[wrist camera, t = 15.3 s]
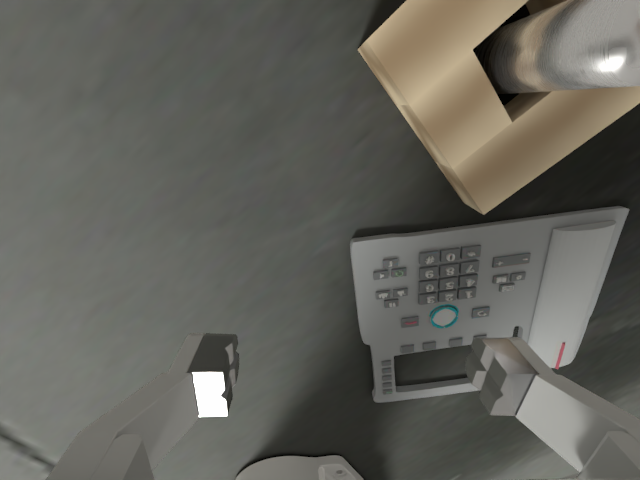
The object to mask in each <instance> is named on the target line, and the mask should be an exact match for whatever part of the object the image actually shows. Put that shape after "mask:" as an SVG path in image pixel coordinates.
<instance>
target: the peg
mask: <svg viewBox="0 0 640 480" xmlns="http://www.w3.org/2000/svg"><path fill="white" fill-rule="evenodd" d="M475 55H476V57H477V59H478V61H479V62H480V64H481V66H482V68H483V70H484V72H485V73H486V75H487V77H488V79H489V81H490V83H491V84H492V86H493V88H494V90H495V92H496V94H512V93H530V92H547V91H564V90H581V89H598V88H615V87H632V86H640V0H567V1H564V2H562V3H559V4H557V5H554V6H552V7H549V8H547V9H544V10H542V11H539V12H537V13H534V14H532V15H530V16H527V17H525V18H522V19H520V20H517V21H515V22H512V23H510V24H507V25H505V26H502V27H500V28H497V29H496V30H494V31H493V32H492V33H491V34H490V35H489V36H488V37H486V38H485V39H484V40H483V41H482V42H481V43H480V44H479V46H478V48H477V50H476V52H475Z"/></svg>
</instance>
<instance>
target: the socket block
mask: <svg viewBox="0 0 640 480" xmlns="http://www.w3.org/2000/svg"><path fill="white" fill-rule="evenodd" d="M564 1H567V0H406V1H405V2H404V3H403V4H402V5H401V6H400V7H399V8H398V9H397V10H396V11H395V12H394V13H393V14H392V15H391V16H390V17H389V18H388V19H387V20H386V21H385V22H384V23H383V24H382V25H381V26H380V27H379V28H378V29H377V30H376V31H375V32H374V33H373V34H372V35H371V36H370V37H369V38H368V39H367V40H366V41H365V42H364V43H363V44H362V45H361V46H360V47H359V48H358V51H359V53H360V54H361V56H362V57H363V58H364V60H365V61H366V63H367V64H368V66H369V67H370V69H371V70H372V71H373V73H374V74H375V76H376V77H377V79H378V80H379V81H380V83H381V84H382V86H383V87H384V89H385V90H386V92H387V93H388V94H389V96H390V97H391V99H392V100H393V102H394V103H395V105H396V106H397V107H398V109H399V110H400V112H401V113H402V115H403V116H404V118H405V119H406V120H407V122H408V123H409V125H410V126H411V128H412V129H413V130H414V132H415V133H416V135H417V136H418V138H419V139H420V141H421V142H422V143H423V145H424V146H425V148H426V149H427V151H428V152H429V154H430V155H431V156H432V158H433V159H434V161H435V162H436V164H437V165H438V167H439V168H440V169H441V171H442V172H443V174H444V175H445V177H446V178H447V180H448V181H449V182H450V184H451V185H452V187H453V188H454V190H455V191H456V192H457V194H458V195H459V197H460V198H461V200H462V201H463V203H465V204H467V205H468V206H470V207H471V208H473V209H475V210H476V211H478V212H480V213H481V214H483V215H484V214H486V213H487V212H489V211H490V210H491V209H493V208H494V207H496V206H497V205H498V204H500V203H501V202H503V201H504V200H505V199H507V198H508V197H510V196H511V195H512V194H514V193H515V192H517V191H518V190H519V189H521V188H522V187H523V186H525V185H526V184H528V183H529V182H530V181H532V180H533V179H535V178H536V177H537V176H539V175H540V174H542V173H543V172H544V171H546V170H547V169H549V168H550V167H551V166H553V165H554V164H556V163H557V162H558V161H560V160H561V159H562V158H564V157H565V156H567V155H568V154H569V153H571V152H572V151H574V150H575V149H576V148H578V147H579V146H581V145H582V144H583V143H585V142H586V141H588V140H589V139H590V138H592V137H593V136H595V135H596V134H597V133H599V132H600V131H602V130H603V129H604V128H606V127H607V126H608V125H610V124H611V123H613V122H614V121H615V120H617V119H618V118H620V117H621V116H622V115H624V114H625V113H627V112H628V111H629V110H631V109H632V108H634V107H635V106H636V105H638V104H639V103H640V86H632V87H615V88H598V89H581V90H564V91H547V92H530V93H519V94H518V95H517V96H516V97H515V98H513V99H512V100H511V101H510V102H508V103H507V104H506V105H505V106H503V105H502V103H501V101H500V99H499V97H498V95H497V94H496V92H495V90H494V88H493V86H492V84H491V83H490V81H489V79H488V77H487V75H486V73H485V72H484V70H483V68H482V66H481V64H480V62H479V61H478V59H477V57H476V55H475V53H474V51H473V49H474V48H475V47H476V46H477V45H479V44H480V43H481V42H482V41H483V40H484V39H485V38H486V37H488V36H489V35H490V34H491V33H492V32H493V31H494V30H496V29H497V28H498V27H499V26H500V25H501V24H502V23H504V22H505V21H506V20H507V19H508V18H509V17H510V16H511V15H513V14H514V13H515V12H516V11H517V10H518V9H519V8H521V7H522V6H523V5H524V4H526V6H527V9H528V11H529V13H530V15H532V14H534V13H537V12H539V11H542V10H544V9H547V8H549V7H552V6H554V5H557V4H559V3H562V2H564Z"/></svg>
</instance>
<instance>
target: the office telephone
mask: <svg viewBox="0 0 640 480" xmlns="http://www.w3.org/2000/svg"><path fill="white" fill-rule="evenodd" d="M628 212H629V209H627V208H625V207H622V206H614V207H605V208H597V209H589V210H581V211H573V212H566V213H558V214H550V215H543V216H535V217H528V218H520V219H512V220H505V221H497V222H490V223H482V224H474V225H467V226H459V227H451V228H444V229H436V230H429V231H421V232H412V233H402V234H396V233H395V234H383V235H375V236H368V237H360V238H352V239H351V242H350V253H351V262H352V271H353V279H354V288H355V297H356V305H357V314H358V323H359V329H360V333H361V337H362V341H363V342H364V344H367V345H370V348H371V357H372V365H373V378H374V389H373V391H372V396H373V400H374V401H375V402H377V403H383V402H392V401H400V400H408V399H416V398H424V397H432V396H439V395H447V394H454V393H462V392H469V391H477V390H478V389H477V388H476V387H474V386H473V385H472V384H471V382H470V381H469V379H468V378H462V379H455V380H447V381H440V382H432V383H425V384H416V385H407V386H395V373H394V356H397V355H403V354H409V353H415V352H422V351H429V350H435V349H442V348H449V347H456V346H463V345H470V344H472V341H473V340H474V339H475V338H476V337H490V338H504V337H512V336H513V331H514V327H515V326H519V331H518V336H517V337H519V338H521V339H523V340H524V341H525V342H526V343H527V344H528V345H529V346H530V347H531V349H532V350H533V351H534V352H535V353H536V354H537V355H538V356H539V357H540V358H541V359H542V360H543V361H544V362H545V363H546V365H547V366H548V367H549V368H556V369H558V368H559V367H561V366H564V365H567V364H569V363H571V362H572V360H573V359H574V358H575V356H576V353H577V351H578V348H579V346H580V343H581V341H582V338H583V336H584V333H585V330H586V327H587V324H588V320H589V317H590V316H591V315H592V312H593V310H594V307H595V304H596V302H597V299H598V296H599V293H600V290H601V287H602V285H603V282H604V279H605V276H606V273H607V270H608V267H609V265H610V262H611V259H612V256H613V253H614V250H615V248H616V245H617V242H618V239H619V236H620V233H621V230H622V228H623V225H624V222H625V220H626V217H627V215H628Z"/></svg>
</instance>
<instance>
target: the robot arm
mask: <svg viewBox="0 0 640 480" xmlns="http://www.w3.org/2000/svg"><path fill="white" fill-rule="evenodd" d="M237 345H238V339H237V335H236V334H210V333H206V334H201V333H190V334H189V335H188V336H187V337H186V339H185V340H184V342H183V344H182V346H181V348H180V350H179V352H178V354H177V356H176V358H175V359H174V361H173V363H172V365H171V367H170V369H169V371H168V373H162V374H160V375H159V376H158V377H156V378H155V379H153V380H152V381H151V382H149V383H148V384H146V385H145V386H144V387H142V388H141V389H139V390H138V391H137V392H135V393H134V394H132V395H131V396H130V397H128V398H127V399H125V400H124V401H122V402H121V403H120V404H118V405H117V406H115V407H114V408H113V409H111V410H110V411H108V412H107V413H106V414H104V415H103V416H101V417H100V418H99V419H97V420H96V421H94V422H93V423H92V424H90V425H89V426H87V427H86V428H85V429H83V430H82V431H80V432H79V433H78V435H77V436H76V437H75V439H74V440H73V442H72V443H71V444H70V446H69V447H68V449H67V450H66V452H65V453H64V454H63V456H62V457H61V459H60V460H59V461H58V463H57V464H56V466H55V467H54V469H53V470H52V471H51V473H50V474H49V476H48V477H47V479H46V480H154V476H153V473H152V470H153V469H154V468H155V467H156V466H157V465H158V464H159V463H160V461H161V460H162V459H163V458H164V457H165V456H166V455H167V454H168V453H169V451H170V450H171V449H172V448H173V447H174V446H175V445H176V444H177V442H178V441H179V440H180V439H181V438H182V437H183V436H184V435H185V434H186V432H187V431H188V430H189V429H190V428H191V427H192V426H193V425H194V424H195V422H196V421H197V420H198V419H199V417H207V416H228V412H229V408H230V404H231V401H232V397H233V394H232V387H233V386H234V385H235V384H236V381H237V377H238V370H239V354H238V353H237V352H236V349H237ZM471 348H472V350H473V352H471V353H470V354H469V355H468V356H467V359H466V362H465V368H466V374H467V377H468V379H469V381H470V382H471V384H472V385H473V386H474V387H476V388H477V389H478V390H480V392H479V398H480V399H481V401H482V403H483V404H484V406H485V408H486V409H487V411H488V413H489V414H490V415H508V416H516V418H517V419H518V420H520V421H521V422H522V423H523V424H524V425H525V426H527V427H528V428H529V429H530V430H531V431H532V432H533V433H535V434H536V435H537V436H538V437H539V438H540V439H542V440H543V441H544V442H545V443H546V444H547V445H549V446H550V447H551V448H552V449H553V450H554V451H556V452H557V453H558V454H559V455H560V456H561V457H563V458H564V459H565V460H566V461H567V462H568V463H569V464H571V465H572V466H573V467H574V468H575V469H576V470H578V471H579V472H580V473H579V474H578V476H577V477H576V479H529V480H640V419H638V418H636V417H635V416H633V415H631V414H629V413H627V412H626V411H624V410H622V409H620V408H619V407H617V406H615V405H613V404H611V403H610V402H608V401H606V400H604V399H603V398H601V397H599V396H597V395H595V394H594V393H592V392H590V391H588V390H587V389H585V388H583V387H581V386H579V385H578V384H576V383H574V382H572V381H571V380H569V379H567V378H565V377H563V376H562V375H556V374H555V373H554V372H553V371H552V370H551V369H550V368H549V367H548V366H547V365H546V363H545V362H544V361H543V360H542V359H541V358H540V357H539V356H538V355H537V354H536V353H535V352H534V351H533V350H532V349H531V347H530V346H529V345H528V344H527V343H526V342H525V341H524V340H523V339H521V338H519V337H504V338H490V337H476V338H475V339H474V340H473V341H472V344H471ZM235 480H364V479H363V478H362V477H361V476H360V475H359V474H358V473H357V472H356V471H355V470H354V469H353V468H352V466H351V465H350V464H349V463H348V462H347V461H346V460H345V459H344V458H343V457H341V456H338V455H331V456H323V457H302V456H281V457H274V458H269V459H265V460H262V461H259V462H257V463H254V464H252V465H250V466H249V467H247V468H246V469H244V470H243V471H242V472H241V473H240V474H239V475H238V476H237V478H236V479H235Z"/></svg>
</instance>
